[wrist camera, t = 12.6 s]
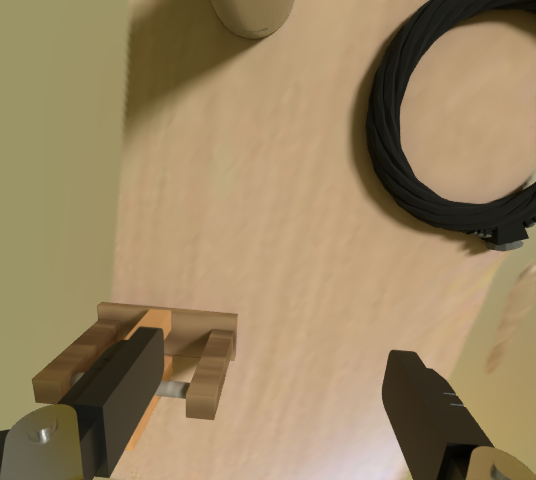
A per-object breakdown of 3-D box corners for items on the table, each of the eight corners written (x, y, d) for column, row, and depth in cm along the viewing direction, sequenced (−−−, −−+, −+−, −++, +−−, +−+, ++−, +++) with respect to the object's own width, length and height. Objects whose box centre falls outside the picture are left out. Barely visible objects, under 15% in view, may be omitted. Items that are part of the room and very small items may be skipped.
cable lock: (651, -95, 27) (643, 221, 35) (607, -65, 31) (609, 215, 38) (346, 11, 31) (397, 279, 38) (339, 26, 34) (387, 268, 42)
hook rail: (101, 302, 45) (26, 362, 32) (237, 314, 44) (217, 381, 31) (105, 343, 47) (35, 417, 33) (235, 355, 46) (216, 435, 33)
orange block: (150, 308, 41) (98, 368, 29) (170, 310, 41) (127, 370, 29) (153, 371, 44) (107, 448, 32) (172, 373, 43) (133, 451, 32)
